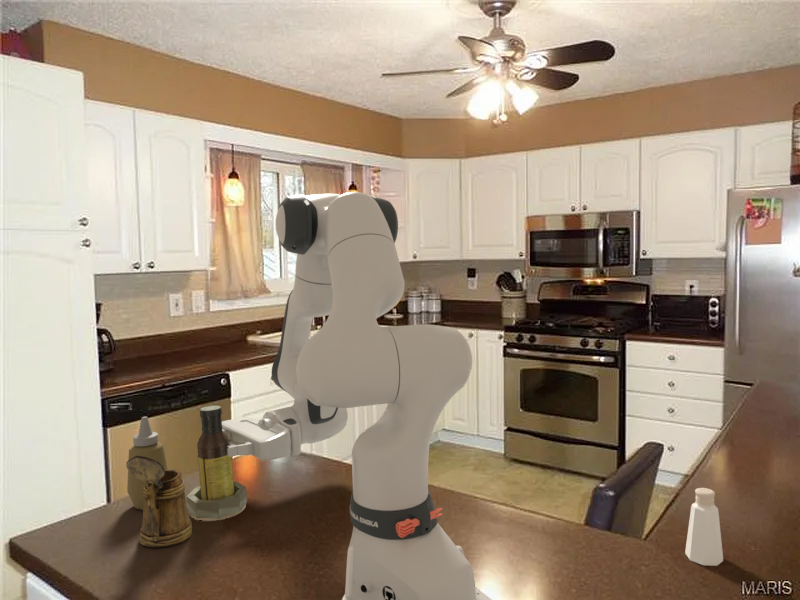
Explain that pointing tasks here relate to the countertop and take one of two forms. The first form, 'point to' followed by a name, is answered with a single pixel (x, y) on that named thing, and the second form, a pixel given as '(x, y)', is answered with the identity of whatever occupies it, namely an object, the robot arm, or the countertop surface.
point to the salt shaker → (704, 530)
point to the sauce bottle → (214, 457)
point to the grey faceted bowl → (216, 504)
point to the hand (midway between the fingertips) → (216, 446)
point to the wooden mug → (161, 504)
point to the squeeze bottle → (145, 447)
